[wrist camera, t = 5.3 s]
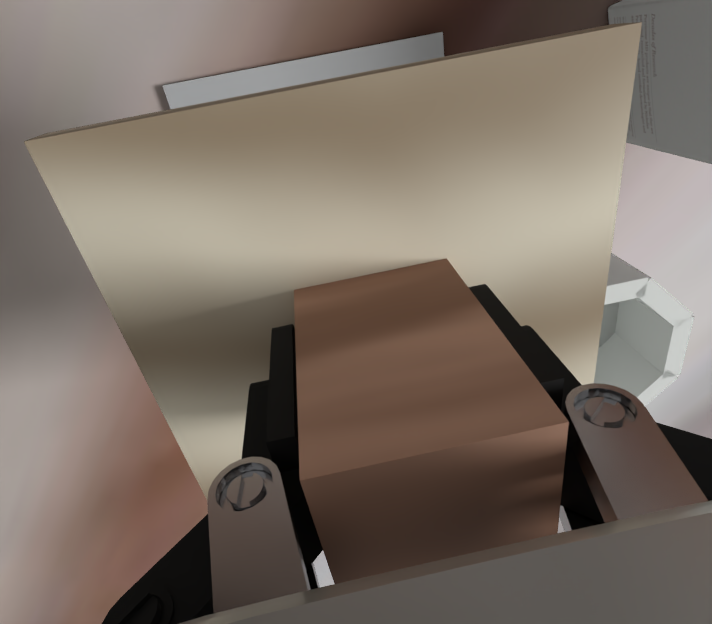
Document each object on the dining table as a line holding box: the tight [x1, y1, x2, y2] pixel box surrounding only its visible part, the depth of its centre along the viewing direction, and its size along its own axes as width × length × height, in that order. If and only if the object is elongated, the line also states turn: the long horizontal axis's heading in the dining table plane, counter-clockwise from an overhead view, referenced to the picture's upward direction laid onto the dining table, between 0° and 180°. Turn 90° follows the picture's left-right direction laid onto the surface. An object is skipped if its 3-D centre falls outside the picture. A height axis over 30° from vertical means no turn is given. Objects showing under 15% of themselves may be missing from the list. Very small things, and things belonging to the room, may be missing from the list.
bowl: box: [594, 253, 694, 406], centre depth 31 cm, size 11×11×6 cm
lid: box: [24, 22, 642, 584], centre depth 11 cm, size 13×13×7 cm
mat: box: [163, 32, 444, 109], centre depth 26 cm, size 14×14×1 cm
